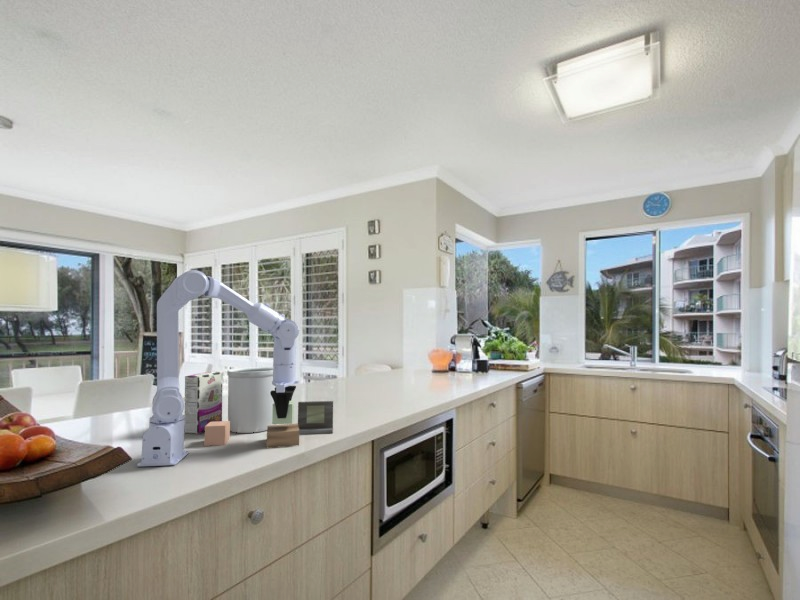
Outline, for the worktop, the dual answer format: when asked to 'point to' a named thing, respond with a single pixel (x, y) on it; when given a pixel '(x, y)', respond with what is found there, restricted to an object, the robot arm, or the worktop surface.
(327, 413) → the dark grey box
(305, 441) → the worktop surface
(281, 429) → the walnut base block
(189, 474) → the worktop surface
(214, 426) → the terracotta cube
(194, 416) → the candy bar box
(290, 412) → the sage cube
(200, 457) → the worktop surface
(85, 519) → the worktop surface
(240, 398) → the utensil holder
